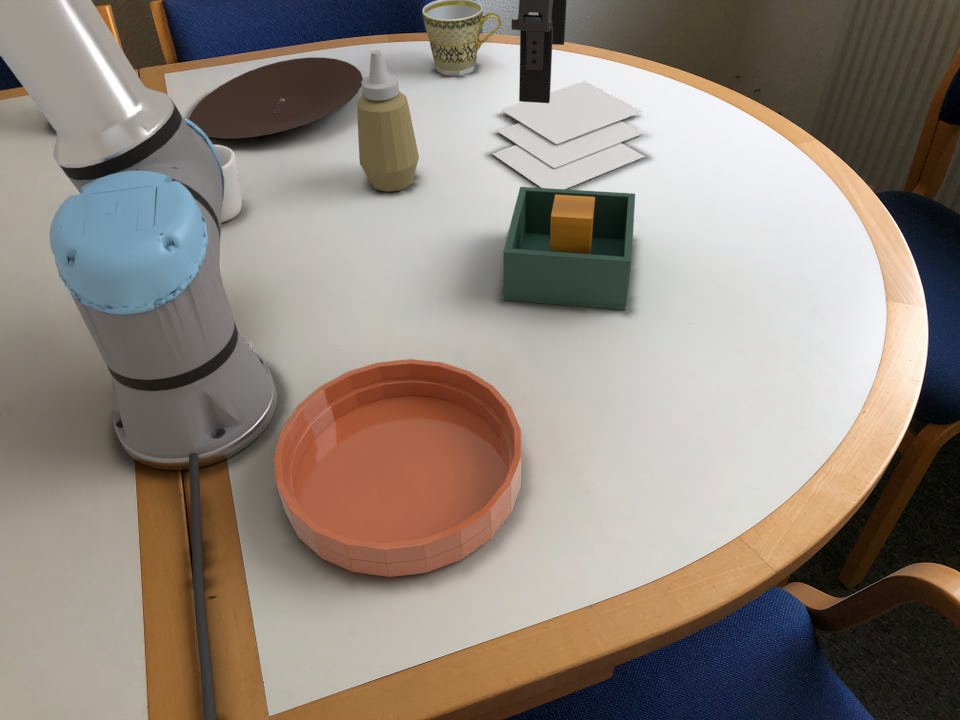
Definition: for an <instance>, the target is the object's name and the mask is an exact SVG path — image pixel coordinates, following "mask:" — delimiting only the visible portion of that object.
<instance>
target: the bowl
mask: <svg viewBox="0 0 960 720" xmlns="http://www.w3.org/2000/svg"><path fill="white" fill-rule="evenodd" d="M273 467H274V468H273V469H274V479H275V486H276V488H277V491H278V495H279V497H280V498H279V499H280V501H281V504H282V507H283V510H284V512H285V515H286V516H287V519H288V521H289V522H290V525H291V527H292V528H293V531H294V532H295V534H296V536H297V537H298V539H300V541H302V543H304V544H305V545H306V546H307V547H308V548H309V549H311V550H312V551H313V552H314V553H315V554H316V555H317V556H318V557H320V559H323V560H324V561H327V562H329V563H331V564H334V565H336V566H338V567H340V568H342V569H345V570H348V571H350V572H353V573H359V574H365V575H366V574H367V575H373V576H380V577H389V578H393V577H402V576H411V575H418V574H427V573H430V572H433V571H435V570H438V569H440V568H442V567H445V566H448V565H450V564H453V563H455V562H459V561H461V560H463V559H464V558H466V557H467V556H470V555H471V553H473V552H474V551H476V550H477V549H479V548H480V547H481V546H483V545H485V544H486V543H487V542H488V541H490V540H491V539H492V538H493V537H494V536H495V534H496V533H497V532H498V530H499V529H500V528H501V527H502V525H503V524H504V523H505V522H506V520H507V519H508V518H509V516H510V515H511V514H512V512H513V510H514V507H515V504H516V501H517V498H518V496H519V493H520V490H521V488H522V430H521V428H520V424H519V422H518V420H517V418H516V414H515V412H514V410H513V408H512V405H511V404H510V403H509V402H508V401H507V400H506V399H505V397H504V396H503V395H502V394H501V393H500V392H499V391H498V390H497V389H496V387H495V386H494V385H492V384H491V383H489V382H488V381H487V380H484V379H482V378H481V377H479V376H478V375H476V374H474V373H473V372H471V371H470V370H467V369H463V368H460V367H457V366H454V365H451V364H448V363H445V362H441V361H433V360H425V359H424V360H422V359H412V358H411V359H399V360H398V359H397V360H387V361H379V362H375V363H372V364H369V365H366V366H362V367H359V368H356V369H352V370H349V371H346V372H344V373H343V374H341V375H339V376H337V377H336V378H333V379H331V380H330V381H328V382H326V383H324V384H322V385H320V386H319V387H318V388H316V389H315V390H314V391H313V392H312V393H311V394H310V395H308V396H307V397H306V398H305V399H304V400H303V401H301V402H300V403H299V404H298V405H297V406H296V408H295V409H294V410H293V412H292V414H291V415H290V417H289V418H288V419H287V420H286V422H285V424H284V425H283V427H282V429H280V433H279V436H278V440H277V443H276V447H275V451H274V454H273Z"/></svg>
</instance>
